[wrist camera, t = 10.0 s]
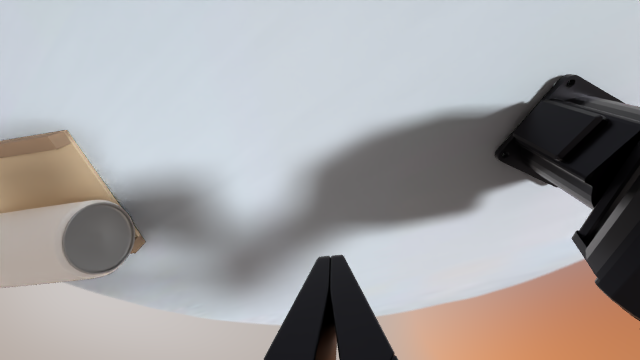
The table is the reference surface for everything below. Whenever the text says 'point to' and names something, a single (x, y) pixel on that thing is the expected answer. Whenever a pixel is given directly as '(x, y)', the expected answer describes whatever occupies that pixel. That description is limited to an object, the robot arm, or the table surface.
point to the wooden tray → (49, 175)
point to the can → (63, 242)
